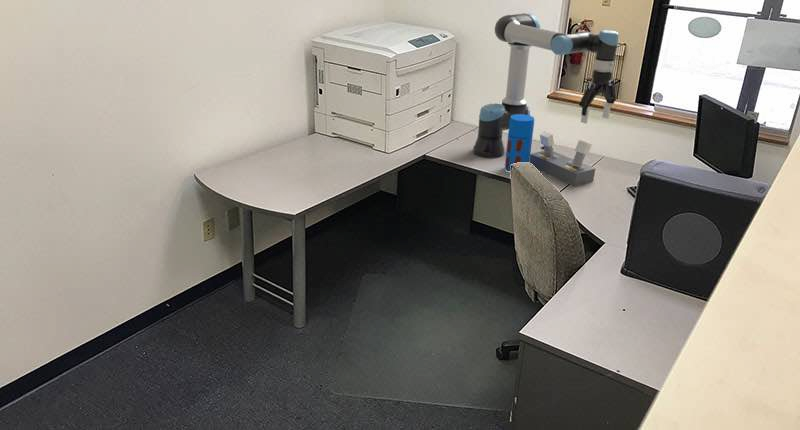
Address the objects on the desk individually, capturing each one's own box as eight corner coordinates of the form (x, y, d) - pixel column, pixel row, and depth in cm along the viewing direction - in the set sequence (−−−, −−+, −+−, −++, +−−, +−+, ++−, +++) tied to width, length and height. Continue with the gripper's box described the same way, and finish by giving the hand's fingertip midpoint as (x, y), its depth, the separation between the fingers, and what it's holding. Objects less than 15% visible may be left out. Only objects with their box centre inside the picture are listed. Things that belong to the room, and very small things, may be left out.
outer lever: (569, 163, 277) (579, 139, 274) (573, 164, 279) (583, 140, 276) (578, 166, 273) (587, 143, 271) (582, 167, 275) (591, 144, 272)
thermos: (527, 175, 281) (534, 122, 270) (503, 173, 283) (509, 120, 272) (528, 167, 291) (534, 115, 280) (505, 164, 292) (510, 113, 281)
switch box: (529, 165, 292) (530, 151, 289) (547, 161, 298) (549, 146, 295) (574, 186, 271) (577, 171, 268) (593, 181, 277) (595, 165, 274)
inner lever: (542, 154, 289) (539, 134, 283) (547, 151, 290) (544, 131, 284) (550, 157, 285) (547, 137, 279) (555, 154, 286) (552, 134, 280)
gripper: (589, 75, 246) (581, 127, 255) (630, 68, 259) (621, 118, 268) (575, 71, 252) (567, 122, 261) (615, 65, 264) (607, 113, 274)
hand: (594, 120), depth 265 cm, fingers open, 13 cm apart
